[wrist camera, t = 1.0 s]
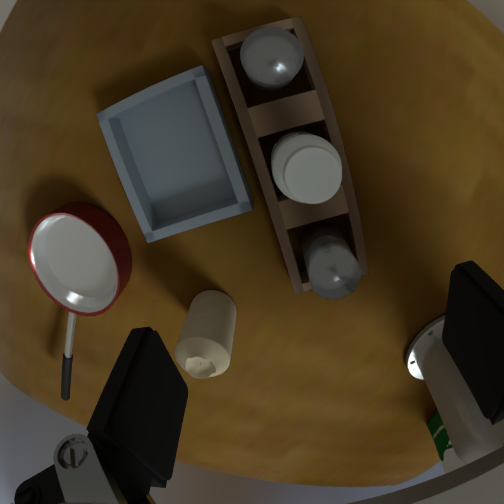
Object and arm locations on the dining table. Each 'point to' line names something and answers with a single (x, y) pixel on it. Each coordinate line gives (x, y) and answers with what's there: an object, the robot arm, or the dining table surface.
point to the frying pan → (79, 265)
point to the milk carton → (444, 444)
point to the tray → (176, 155)
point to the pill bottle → (306, 167)
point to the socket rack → (285, 117)
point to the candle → (207, 335)
